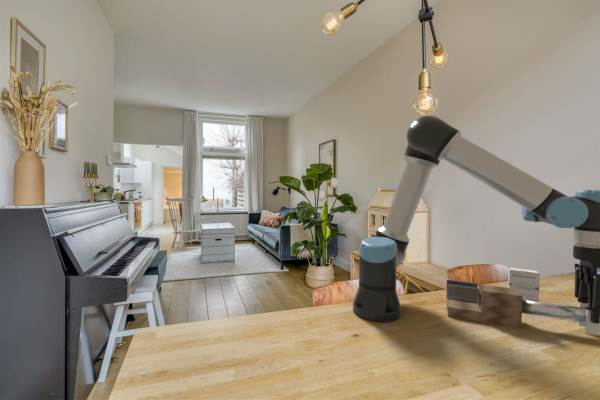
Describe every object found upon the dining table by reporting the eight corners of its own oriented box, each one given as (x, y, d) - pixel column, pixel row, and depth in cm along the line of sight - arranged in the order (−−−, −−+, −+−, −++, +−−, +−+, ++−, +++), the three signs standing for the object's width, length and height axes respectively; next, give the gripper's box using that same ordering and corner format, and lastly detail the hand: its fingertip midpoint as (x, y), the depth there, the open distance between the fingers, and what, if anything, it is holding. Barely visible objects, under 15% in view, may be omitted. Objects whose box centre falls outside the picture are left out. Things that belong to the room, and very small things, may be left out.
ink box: (536, 303, 104) (538, 270, 104) (538, 308, 100) (540, 273, 100) (507, 298, 109) (508, 266, 109) (507, 302, 105) (509, 269, 104)
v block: (447, 301, 105) (447, 284, 105) (446, 295, 111) (446, 279, 111) (479, 306, 101) (480, 289, 101) (476, 299, 107) (477, 283, 107)
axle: (517, 314, 86) (518, 301, 86) (514, 309, 90) (514, 296, 90) (598, 327, 79) (599, 312, 79) (591, 320, 83) (592, 306, 82)
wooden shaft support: (447, 316, 92) (448, 286, 92) (446, 308, 99) (447, 280, 98) (521, 328, 85) (522, 296, 84) (514, 319, 91) (516, 288, 91)
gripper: (630, 253, 71) (625, 347, 72) (594, 242, 87) (590, 320, 88) (589, 250, 74) (585, 340, 75) (562, 240, 90) (558, 315, 91)
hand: (588, 329), depth 81 cm, fingers closed on axle, 4 cm apart
